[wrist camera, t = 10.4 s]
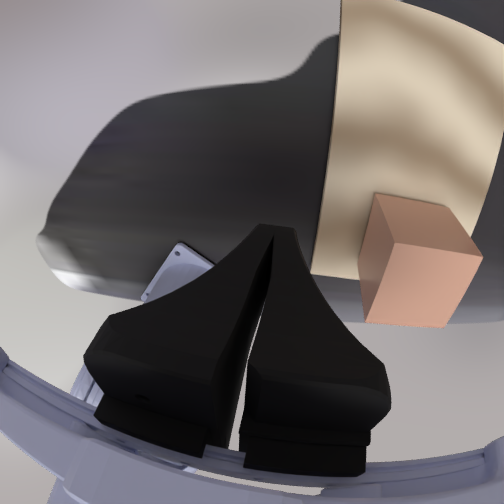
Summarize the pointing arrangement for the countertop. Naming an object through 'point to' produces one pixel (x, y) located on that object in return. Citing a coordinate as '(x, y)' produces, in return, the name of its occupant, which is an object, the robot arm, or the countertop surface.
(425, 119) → the maple board
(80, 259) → the countertop surface
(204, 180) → the countertop surface
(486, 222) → the countertop surface
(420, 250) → the salmon orange cube
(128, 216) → the countertop surface
